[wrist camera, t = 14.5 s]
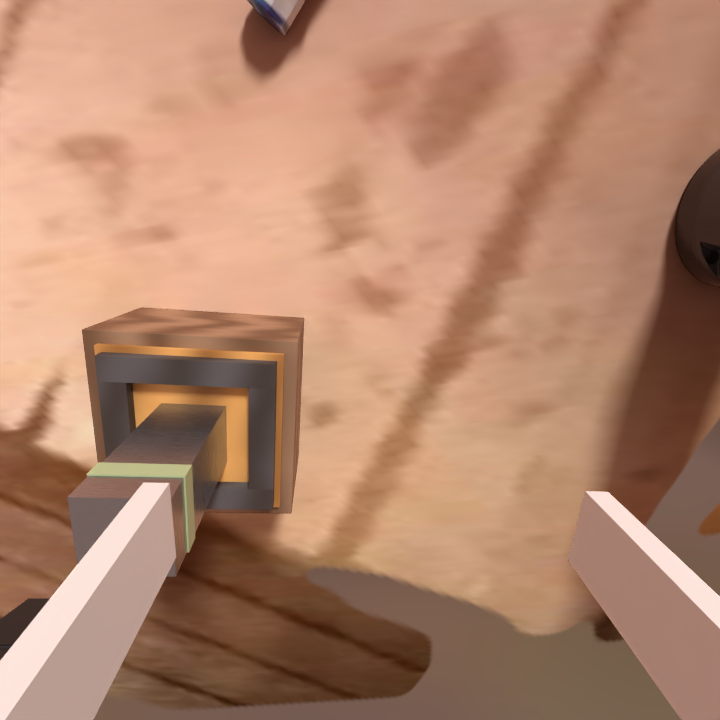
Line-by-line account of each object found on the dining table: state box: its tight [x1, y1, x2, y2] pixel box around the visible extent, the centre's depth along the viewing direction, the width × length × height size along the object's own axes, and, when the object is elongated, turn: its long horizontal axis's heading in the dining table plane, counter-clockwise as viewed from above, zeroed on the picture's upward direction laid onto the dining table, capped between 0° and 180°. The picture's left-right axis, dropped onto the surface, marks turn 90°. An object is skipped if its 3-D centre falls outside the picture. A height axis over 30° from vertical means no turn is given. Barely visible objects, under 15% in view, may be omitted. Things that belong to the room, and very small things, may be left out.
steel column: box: [67, 403, 227, 577], centre depth 27 cm, size 5×5×12 cm
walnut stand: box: [82, 308, 304, 514], centre depth 37 cm, size 16×16×12 cm
